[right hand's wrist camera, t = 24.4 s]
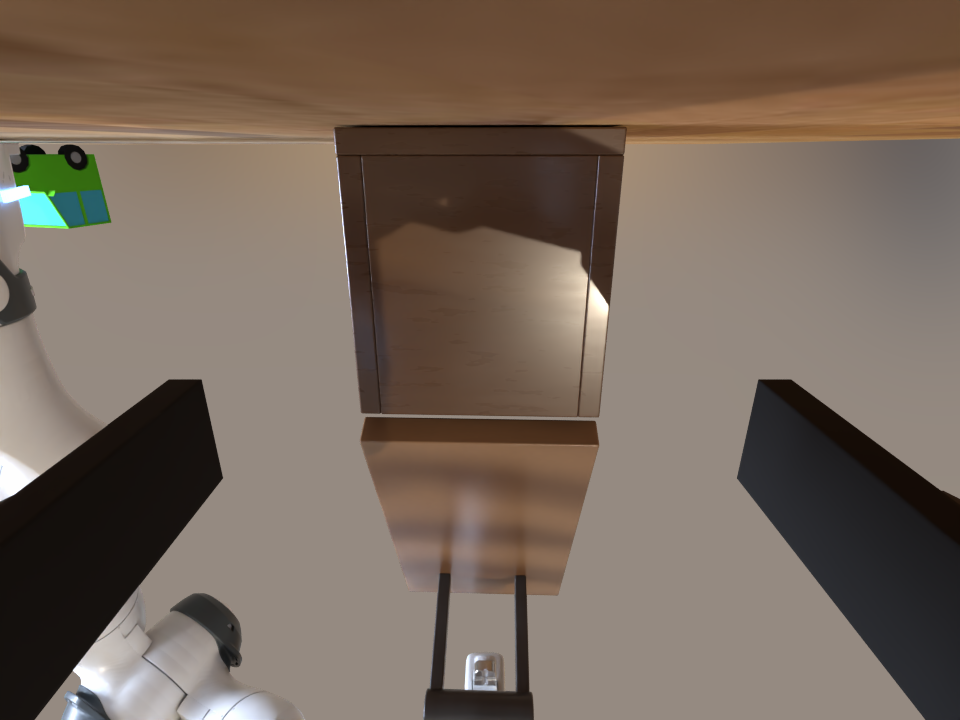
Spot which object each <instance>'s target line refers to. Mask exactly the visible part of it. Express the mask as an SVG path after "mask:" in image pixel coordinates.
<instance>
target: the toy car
mask: <svg viewBox="0 0 960 720" xmlns="http://www.w3.org/2000/svg"><path fill="white" fill-rule="evenodd" d="M19 149H20V154H19V155H10V160H11V165H12V169H13V174H14V179H15V183H16V187H21V186H29V190H30V193H31V196H28V197H25V198H21V199H19V202H20V207H21V211H22V216H23V221H24V226H27V227H48V228H76V227H83V226H90V225H97V224H104V223H111V219H110V215H109V211H108V207H107V203H106V200H105V196H104V192H103V188H102V184H101V180H100V176H99V172H98V168H97V165H96V161H95V157H94V154H85V152H84V151H83V150H82V149H81V148H80V147H79V146H76V145H64V146H61V147H60V149H59V150H58V154H46V153H45V152H44V150H42V149H41V148H40V147H39V146H35V145H24V146H21V147H19Z"/></svg>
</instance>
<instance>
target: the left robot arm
mask: <svg viewBox="0 0 960 720" xmlns="http://www.w3.org/2000/svg"><path fill="white" fill-rule="evenodd" d="M19 154H20V149H19V143H0V501H2V500H4V499H6V498H8V497H10V496H12V495H14V494H15V493H17V492H18V491H19V490H21V489H22V488H24V487H25V486H26V485H28V484H29V483H30V482H32V481H33V480H34V479H36V478H37V477H38V476H40V475H41V474H42V473H44V472H45V471H46V470H48V469H49V468H50V467H52V466H53V465H55V464H56V463H57V462H59V461H60V460H61V459H63V458H64V457H65V456H67V455H68V454H69V453H71V452H72V451H73V450H75V449H76V448H77V447H79V446H80V445H81V444H83V443H84V442H86V441H87V440H88V439H90V438H91V437H92V436H94V435H95V434H96V433H98V432H99V431H100V430H102V429H103V428H104V427H106V426H107V425H108V424H106V423H104V422H102V421H101V420H99V419H98V418H96V417H94V416H93V415H92V414H90V413H89V412H88V411H86V410H85V409H84V408H83V407H82V406H81V405H79V404H78V403H77V402H76V401H75V400H74V399H73V398H72V397H71V395H70V394H69V393H68V392H67V390H66V389H65V388H64V386H63V385H62V383H61V381H60V380H59V378H58V376H57V373H56V371H55V369H54V367H53V365H52V363H51V361H50V358H49V356H48V353H47V351H46V349H45V346H44V344H43V341H42V338H41V336H40V333H39V330H38V327H37V324H36V322H35V319H34V316H33V312H34V311H35V309H36V303H35V300H34V291H33V287H32V286H31V285H30V283H29V279H28V276H27V273H26V272H25V271H24V270H22V269H20V268H19V266H18V259H19V252H20V249H21V246H22V244H23V242H24V241H25V238H26V231H25V226H24V221H23V216H22V211H21V207H20V202H19V199H21V198H25V197H28V196H31V193H30V190H29V186H21V187H16V183H15V179H14V174H13V169H12V165H11V160H10V155H19ZM145 626H146V609H145V601H144V597H143V593H142V590H141V587H140V585H139V586H138V588H137V589H136V590H135V592H134V593H133V594H132V595H131V597H130V598H129V599H128V601H127V602H126V603H125V604H124V606H123V607H122V608H121V610H120V611H119V612H118V613H117V615H116V616H115V617H114V618H113V620H112V621H111V622H110V624H109V625H108V626H107V627H106V629H105V630H104V631H103V633H102V634H101V635H100V636H99V638H98V639H97V640H96V642H95V643H94V644H93V645H92V647H91V648H90V649H89V651H88V652H87V653H86V654H85V656H84V657H83V658H82V660H81V661H80V662H79V663H78V665H77V666H76V667H75V668H74V670H73V671H74V672H75V673H76V674H77V675H79V676H80V678H81V685H79V688H78V691H77V693H76V695H75V694H73V693H72V692H70V691H67V693H66V695H65V696H64V698H65V700H66V701H67V702H68V704H67V706H66V708H65V711H64V713H63V716H62V719H61V720H305V718H304V716H303V714H302V713H301V711H300V710H299V709H298V708H297V707H296V706H295V705H293V704H292V703H291V702H289V701H288V700H286V699H284V698H282V697H280V696H278V695H275V694H273V693H270V692H267V691H264V690H262V689H258V688H255V687H251V686H248V685H245V684H243V683H241V682H239V681H237V680H236V679H235V678H234V677H233V676H232V675H231V674H230V673H229V672H230V666H232V667H239V666H240V664H241V661H242V657H241V655H240V653H239V651H240V646H241V642H242V639H241V628H240V623H239V621H238V619H237V618H236V617H235V615H234V613H233V611H232V610H231V609H230V607H229V606H228V605H227V604H225V603H224V602H223V601H221V600H219V599H217V598H214V597H212V596H210V595H207V594H204V593H198V594H197V593H196V594H192V595H190V596H188V597H187V598H185V599H183V600H182V601H180V602H179V603H178V604H176V605H175V606H174V607H172V608H171V609H170V613H169V614H168V615H166V616H165V617H164V618H163V619H161V620H160V621H159V622H158V623H157V624H156V625H154V626H153V627H152V628H151V629H150V630H149V631H147V632H146V633H144V630H145ZM465 690H490V691H505V667H504V659H503V656H502V655H500V654H498V653H492V652H476V653H471V654H469V655H468V657H467V661H466V676H465Z"/></svg>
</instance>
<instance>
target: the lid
mask: <svg viewBox="0 0 960 720" xmlns="http://www.w3.org/2000/svg"><path fill="white" fill-rule="evenodd" d="M360 443H361V446H362V449H363V453H364V456H365V459H366V462H367V465H368V468H369V471H370V474H371V477H372V480H373V483H374V486H375V489H376V492H377V495H378V498H379V501H380V504H381V507H382V510H383V513H384V516H385V519H386V522H387V526H388V529H389V532H390V535H391V538H392V541H393V544H394V547H395V550H396V553H397V556H398V559H399V562H400V565H401V568H402V571H403V574H404V577H405V580H406V583H407V586H408V589H409V591H412V592H438V595H437V607H436V619H435V631H434V643H433V655H432V667H431V679H430V688H429V689H427V691H426V695H425V702H424V715H423V720H534V709H533V695H532V692H529V661H528V625H527V595H558V594H559V590H560V586H561V583H562V579H563V575H564V572H565V568H566V564H567V561H568V557H569V554H570V550H571V546H572V543H573V539H574V535H575V532H576V528H577V524H578V521H579V517H580V513H581V510H582V506H583V503H584V499H585V495H586V492H587V488H588V484H589V481H590V477H591V473H592V470H593V466H594V462H595V459H596V455H597V452H598V448H599V440H598V433H597V426H596V422H595V421H572V420H512V419H511V420H510V419H452V418H451V419H450V418H390V417H366V418H365V419H364V424H363V428H362V433H361V437H360ZM450 593H486V594H515V669H516V670H515V671H516V691H490V690H460V689H444V676H445V661H446V646H447V632H448V617H449V601H450Z"/></svg>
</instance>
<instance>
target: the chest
mask: <svg viewBox="0 0 960 720" xmlns="http://www.w3.org/2000/svg"><path fill="white" fill-rule="evenodd" d="M333 130H334V140H335V151H336V154H337V157H336V160H337V170H338V181H339V191H340V202H341V212H342V222H343V233H344V243H345V253H346V264H347V274H348V285H349V295H350V305H351V315H352V326H353V336H354V347H355V357H356V368H357V378H358V388H359V398H360V409H361V413H377V414H380V413H382V414H423V415H483V416H545V417H577V416H578V417H599V413H600V402H601V392H602V381H603V371H604V361H605V350H606V340H607V329H608V319H609V308H610V298H611V288H612V277H613V267H614V256H615V246H616V235H617V225H618V215H619V204H620V194H621V183H622V173H623V162H624V156H623V154H624V152H625V141H626V131H627V129H626V127H335V128H334V129H333Z"/></svg>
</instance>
